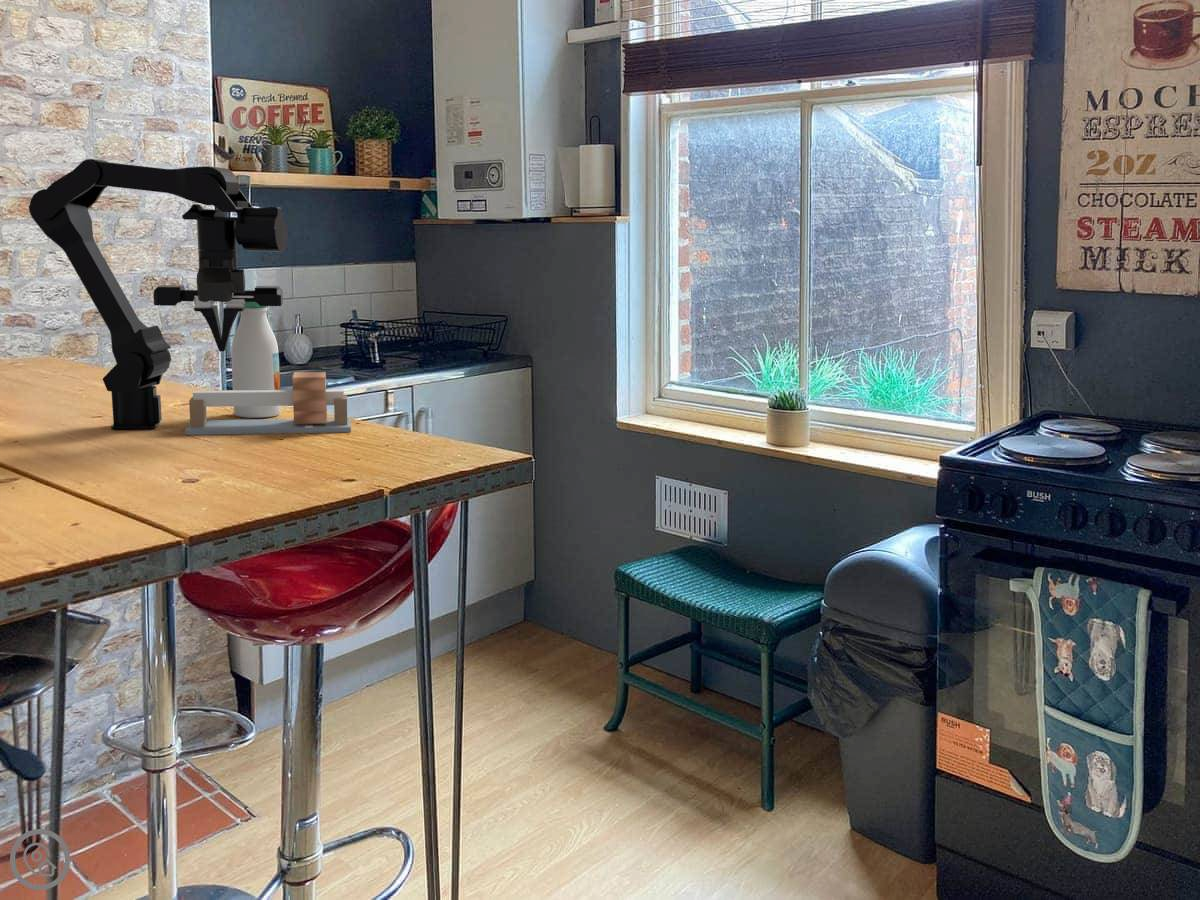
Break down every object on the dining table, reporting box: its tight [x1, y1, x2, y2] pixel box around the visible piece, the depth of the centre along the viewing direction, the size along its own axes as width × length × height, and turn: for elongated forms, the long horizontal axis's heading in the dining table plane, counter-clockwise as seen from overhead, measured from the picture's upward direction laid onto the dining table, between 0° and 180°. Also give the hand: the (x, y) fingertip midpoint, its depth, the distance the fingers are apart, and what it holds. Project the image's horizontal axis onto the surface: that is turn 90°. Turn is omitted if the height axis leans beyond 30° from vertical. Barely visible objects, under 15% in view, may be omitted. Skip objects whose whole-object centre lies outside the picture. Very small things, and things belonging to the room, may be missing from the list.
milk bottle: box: [231, 302, 282, 419], centre depth 193 cm, size 8×8×20 cm
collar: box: [291, 371, 328, 424], centre depth 183 cm, size 5×6×7 cm
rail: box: [184, 389, 352, 436], centre depth 182 cm, size 25×8×6 cm, turn 102°
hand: (222, 351), depth 179 cm, fingers closed
